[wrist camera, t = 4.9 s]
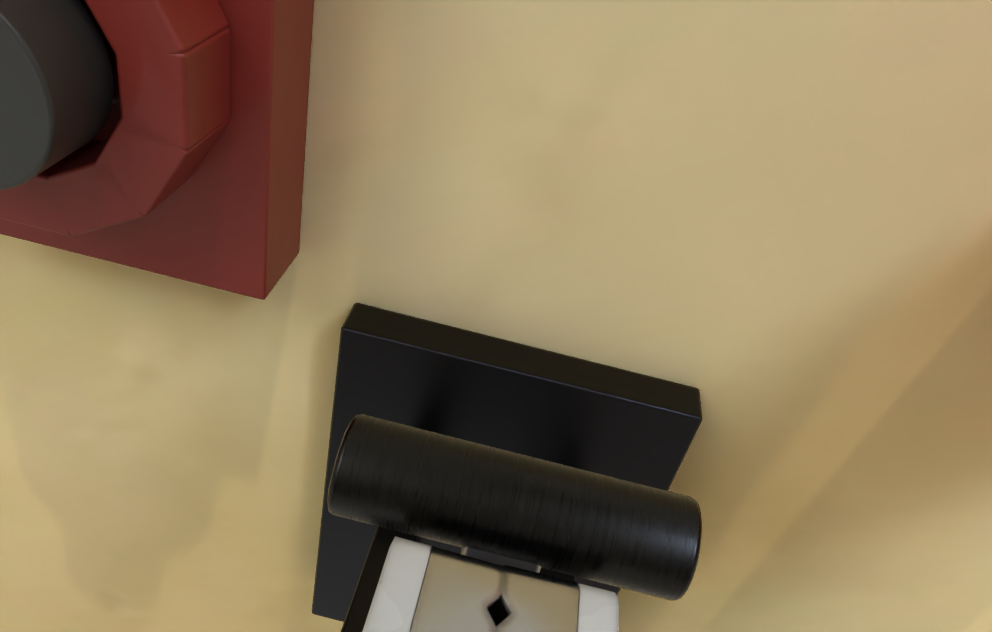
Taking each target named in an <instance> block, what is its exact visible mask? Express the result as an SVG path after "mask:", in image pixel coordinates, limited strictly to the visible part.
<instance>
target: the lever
mask: <svg viewBox="0 0 992 632" xmlns="http://www.w3.org/2000/svg"><path fill="white" fill-rule="evenodd" d="M327 503H328V511H329V512H330V513H331V514H333V515H335V516H339V517H343V518H347V519H351V520H355V521H359V522H363V523H367V524H371V525H375V526H379V527H383V528H387V529H391V530H395V531H399V532H403V533H407V534H410V535H414V536H418V537H422V538H426V539H430V540H434V541H438V542H442V543H446V544H450V545H454V546H458V547H462V549H461V553H460V554H462V555H466V556H469V557H473V558H476V559H480V560H484V561H487V562H491V563H494V564H498V565H501V566H504V565H508V566H512V567H516V568H521V569H525V570H529V571H533V572H538V573H540V569H541V568H545V569H549V570H553V571H557V572H561V573H565V574H569V575H573V576H577V577H581V578H585V579H588V580H592V581H596V582H600V583H604V584H608V585H612V586H616V587H620V588H624V589H628V590H632V591H636V592H640V593H644V594H648V595H652V596H656V597H660V598H664V599H668V600H678V599H680V598H681V597H682V596H683V595H684V594H685V592H686V591H687V589H688V587H689V585H690V583H691V581H692V578H693V576H694V573H695V570H696V566H697V562H698V558H699V553H700V546H701V537H702V521H701V512H700V508H699V505H698V503H697V502H696V500H694V499H693V498H692V497H689V496H685V495H681V494H677V493H673V492H669V491H665V490H661V489H657V488H654V487H650V486H646V485H642V484H638V483H634V482H630V481H626V480H622V479H618V478H614V477H610V476H606V475H602V474H598V473H594V472H590V471H586V470H582V469H578V468H574V467H570V466H566V465H562V464H558V463H554V462H550V461H546V460H542V459H538V458H534V457H531V456H527V455H523V454H519V453H515V452H511V451H507V450H503V449H499V448H495V447H491V446H487V445H483V444H479V443H475V442H471V441H467V440H463V439H459V438H455V437H451V436H447V435H443V434H439V433H435V432H431V431H427V430H423V429H419V428H415V427H411V426H407V425H404V424H400V423H396V422H392V421H388V420H384V419H380V418H376V417H372V416H368V415H364V414H360V415H356V416H355V417H354V418H353V419H352V421H351V422H350V424H349V425H348V427H347V429H346V432H345V434H344V436H343V439H342V442H341V444H340V447H339V450H338V453H337V457H336V460H335V464H334V467H333V471H332V475H331V480H330V485H329V490H328V499H327Z"/></svg>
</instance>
